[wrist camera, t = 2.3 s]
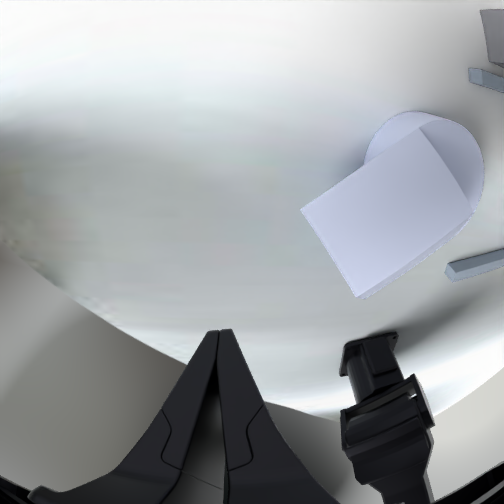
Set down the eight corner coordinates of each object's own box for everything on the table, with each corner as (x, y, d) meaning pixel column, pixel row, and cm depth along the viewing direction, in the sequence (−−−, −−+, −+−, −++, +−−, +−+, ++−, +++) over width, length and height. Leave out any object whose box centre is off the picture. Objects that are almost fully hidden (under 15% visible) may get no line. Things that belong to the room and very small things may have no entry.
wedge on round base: (351, 271, 22) (466, 187, 18) (380, 333, 16) (518, 226, 12) (289, 187, 18) (433, 91, 13) (314, 242, 12) (501, 107, 8)
